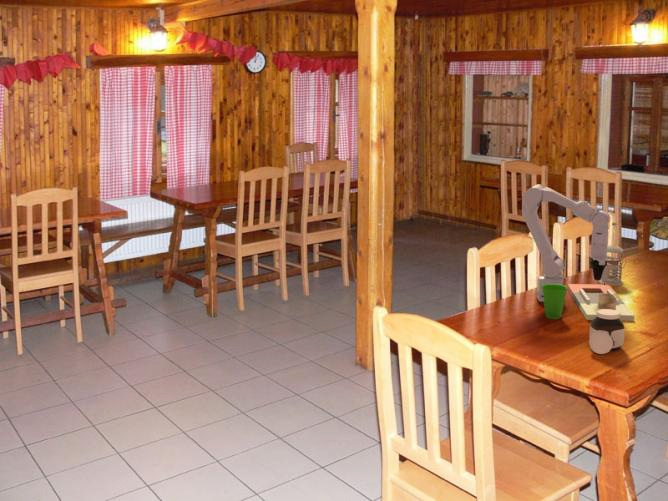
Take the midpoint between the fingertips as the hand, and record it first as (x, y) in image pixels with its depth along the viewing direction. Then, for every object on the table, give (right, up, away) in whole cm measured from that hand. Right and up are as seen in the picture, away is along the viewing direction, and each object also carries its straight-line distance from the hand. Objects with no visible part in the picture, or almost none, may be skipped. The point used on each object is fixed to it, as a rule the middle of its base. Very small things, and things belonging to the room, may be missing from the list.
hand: (597, 279), depth 308 cm
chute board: (+1, -9, +2) cm, 9 cm away
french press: (+17, -2, +33) cm, 37 cm away
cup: (-20, -13, -13) cm, 27 cm away
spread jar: (-13, -20, -47) cm, 53 cm away
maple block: (0, -10, -12) cm, 16 cm away
